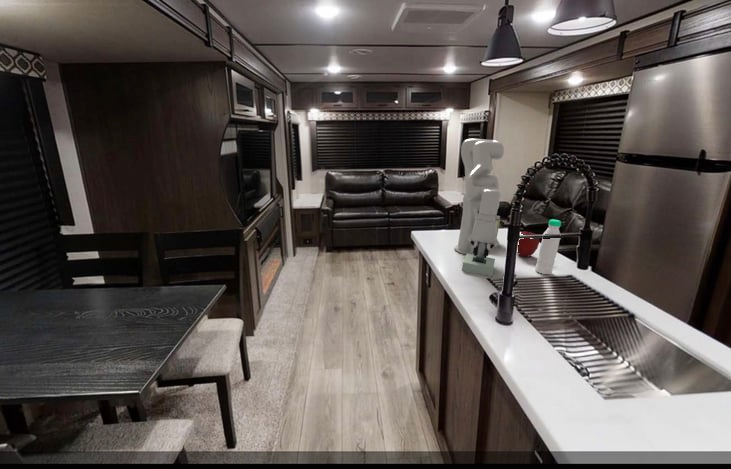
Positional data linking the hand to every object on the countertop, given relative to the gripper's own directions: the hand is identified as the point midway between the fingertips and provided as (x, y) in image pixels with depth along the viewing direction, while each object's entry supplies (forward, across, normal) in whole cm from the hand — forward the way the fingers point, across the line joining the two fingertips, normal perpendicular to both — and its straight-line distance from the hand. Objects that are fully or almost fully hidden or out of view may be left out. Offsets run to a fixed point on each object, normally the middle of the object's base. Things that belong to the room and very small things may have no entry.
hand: (480, 255), depth 154 cm
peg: (+3, 0, 0) cm, 3 cm away
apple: (+6, -20, -32) cm, 38 cm away
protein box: (+6, +2, -44) cm, 45 cm away
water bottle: (+6, -28, -12) cm, 31 cm away
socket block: (+6, 0, 0) cm, 6 cm away
